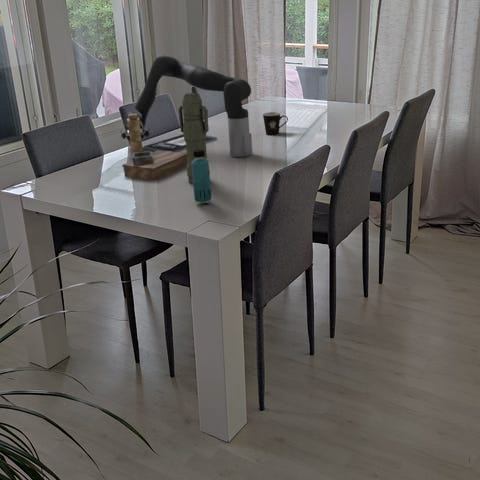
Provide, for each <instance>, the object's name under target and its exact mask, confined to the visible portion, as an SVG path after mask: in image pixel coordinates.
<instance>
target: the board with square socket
mask: <svg viewBox="0 0 480 480" xmlns="http://www.w3.org/2000/svg"><path fill="white" fill-rule="evenodd" d="M187 164H188V161H187V152H182V151H179V152H171V151H161V150H154V151H151V150H149V151H143V152H139V153H133V161H132V160H131V161H129V162H126V163H123V164H122V165H121V166H122V168H123V174H124V177H128V178H136V179H145V180H150V181H155V180H157V179H160V178H162V177H164V176H167V175H170V173H172V172H175V171H177V170H179V169H181V168H184V167H187Z"/></svg>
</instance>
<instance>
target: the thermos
mask: <svg viewBox="0 0 480 480" xmlns="http://www.w3.org/2000/svg"><path fill="white" fill-rule="evenodd" d="M182 97H183V98H182V101H181V102H182V103H181V105H180V106H179V107H178V119H179V128H180V132H181V133H182V134H184V140H185V142H186V149H185V150H186V153H187V161H188V164H187V165H186V172H187V173H186V175H187V177H188V178H187V179H188V181H187V182H188V184H190V185H193V175H192V165H191V162H192V161H193V160H194V159H196V158H205V159H206V160H208V153H207V143H206V135H207V133H208V132H209V131H210V130H209V129H210V128H209V115H208V114H209V113H208V109H207V107H206V105H205V106H204V105H203V100H202V98H201V95H200V94H199V93H197V92H188V93H187V92H186V93H185V94H183V96H182ZM183 116H184V117H183ZM196 149H203V150H204V153H205V156H203V157H194V156H193V151H194V150H196ZM208 165H209V166H210V164H209V163H208ZM210 174H211V173H209V175H210Z"/></svg>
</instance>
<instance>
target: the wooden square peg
mask: <svg viewBox="0 0 480 480" xmlns="http://www.w3.org/2000/svg"><path fill="white" fill-rule="evenodd" d="M137 114H138V113H136V114H129V115H128V119H127V121H128V129H129V136H130V140H129V142H130V143H129V144H130V152H131V161H133V153H139V152H144V150H143V148H144V147H143V142H142V139H141V131H140V123H139V118H138V116H137Z"/></svg>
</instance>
